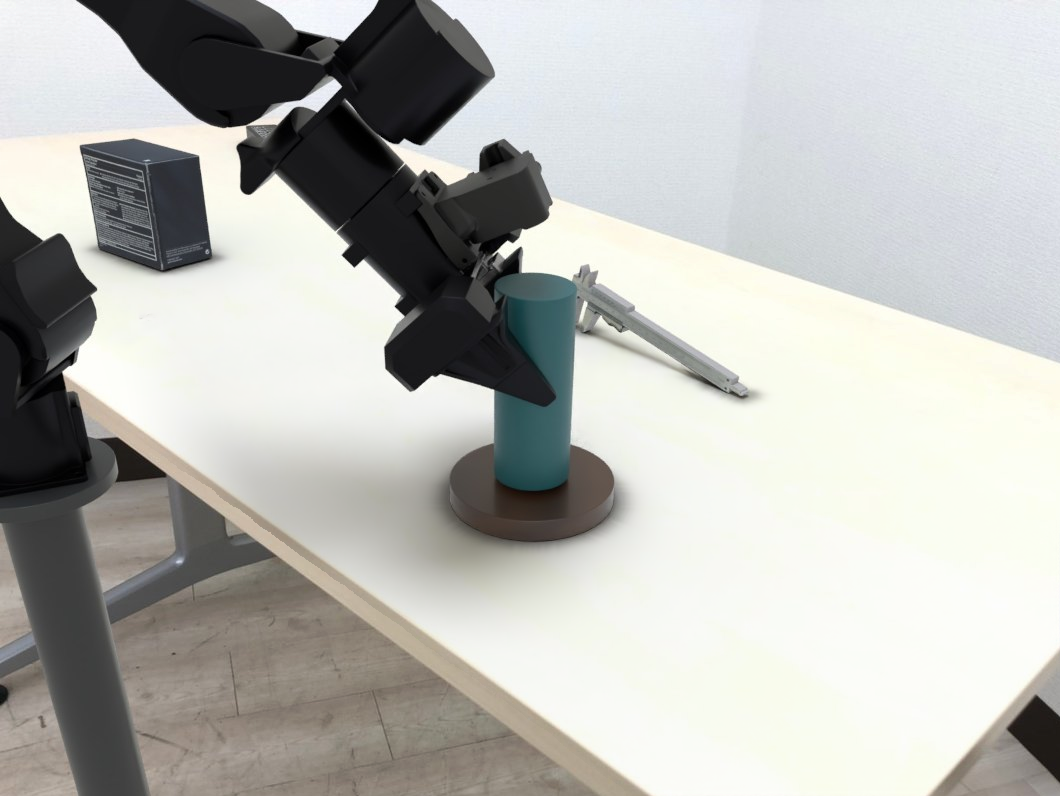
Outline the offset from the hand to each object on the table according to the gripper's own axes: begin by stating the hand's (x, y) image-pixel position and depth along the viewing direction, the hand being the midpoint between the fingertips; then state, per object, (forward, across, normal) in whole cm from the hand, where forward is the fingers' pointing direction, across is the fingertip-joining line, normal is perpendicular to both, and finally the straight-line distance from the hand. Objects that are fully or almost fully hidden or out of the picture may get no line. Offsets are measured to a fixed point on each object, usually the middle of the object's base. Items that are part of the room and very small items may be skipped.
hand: (554, 383), depth 66 cm
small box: (-25, +44, +37) cm, 62 cm away
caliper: (+11, +25, +1) cm, 27 cm away
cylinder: (+4, 0, +6) cm, 7 cm away
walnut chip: (+5, 0, +7) cm, 9 cm away
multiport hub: (-26, +90, +39) cm, 101 cm away
